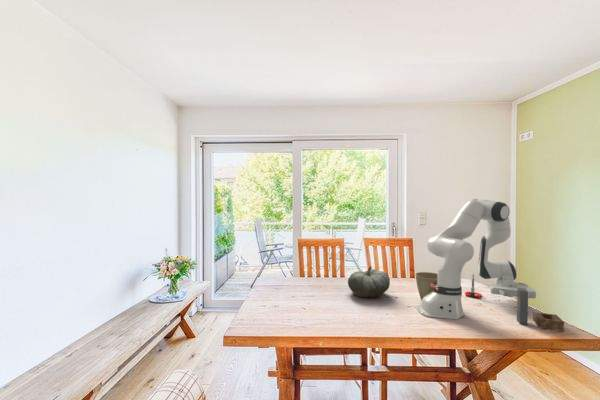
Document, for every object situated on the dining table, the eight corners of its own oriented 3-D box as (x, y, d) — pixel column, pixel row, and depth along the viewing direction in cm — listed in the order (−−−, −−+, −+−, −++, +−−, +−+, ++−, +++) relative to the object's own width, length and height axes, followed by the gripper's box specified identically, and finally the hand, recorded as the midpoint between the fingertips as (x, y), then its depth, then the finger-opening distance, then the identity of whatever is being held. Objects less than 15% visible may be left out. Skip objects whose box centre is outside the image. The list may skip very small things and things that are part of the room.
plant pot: (447, 309, 163) (447, 279, 163) (417, 307, 166) (418, 278, 166) (440, 299, 178) (440, 272, 177) (413, 297, 181) (413, 271, 180)
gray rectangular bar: (519, 324, 144) (520, 290, 144) (516, 320, 149) (517, 287, 148) (527, 325, 143) (528, 291, 143) (524, 321, 147) (524, 288, 147)
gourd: (400, 294, 179) (394, 265, 179) (365, 307, 170) (359, 276, 170) (375, 286, 202) (370, 261, 202) (343, 297, 193) (338, 270, 193)
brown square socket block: (539, 328, 139) (539, 318, 139) (533, 321, 148) (533, 311, 148) (564, 332, 136) (564, 322, 136) (556, 324, 144) (556, 314, 144)
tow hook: (465, 292, 192) (463, 296, 184) (466, 270, 192) (464, 273, 184) (482, 295, 187) (481, 299, 179) (482, 272, 187) (481, 275, 179)
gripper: (487, 280, 173) (492, 287, 160) (531, 284, 165) (539, 292, 152) (487, 291, 173) (492, 299, 160) (530, 296, 165) (539, 304, 152)
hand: (515, 295), depth 156 cm, fingers open, 8 cm apart
